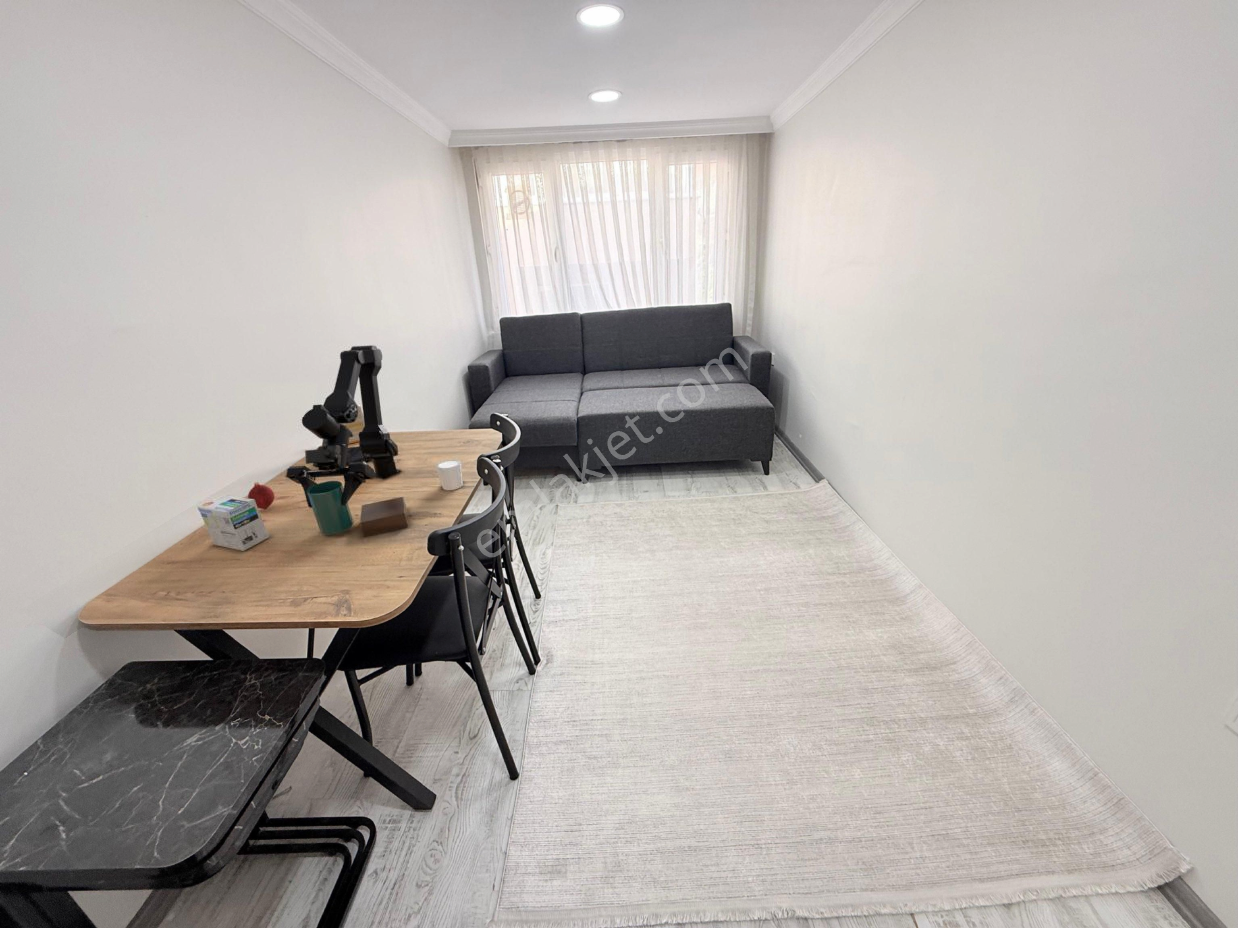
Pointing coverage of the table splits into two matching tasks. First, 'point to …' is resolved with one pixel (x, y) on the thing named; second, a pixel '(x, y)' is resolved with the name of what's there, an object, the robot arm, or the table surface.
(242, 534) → the light bulb box
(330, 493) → the cup
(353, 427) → the supplement box
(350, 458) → the dark slate chunk
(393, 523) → the block
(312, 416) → the robot arm
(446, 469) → the white cylinder
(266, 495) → the pomegranate
